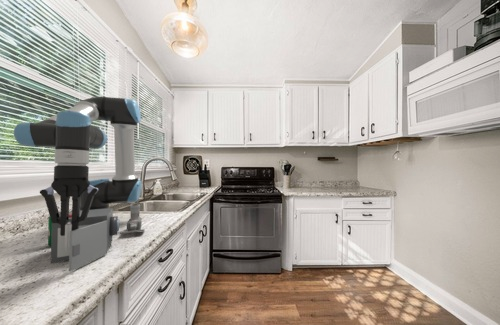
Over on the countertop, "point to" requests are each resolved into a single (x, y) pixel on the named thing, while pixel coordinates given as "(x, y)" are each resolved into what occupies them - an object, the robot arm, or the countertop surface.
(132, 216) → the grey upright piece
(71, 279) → the countertop surface
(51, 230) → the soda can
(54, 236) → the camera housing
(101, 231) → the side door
